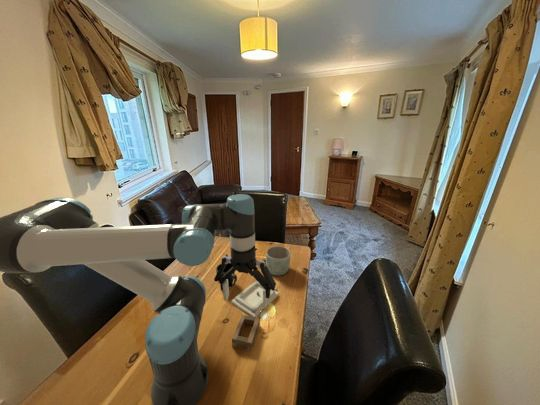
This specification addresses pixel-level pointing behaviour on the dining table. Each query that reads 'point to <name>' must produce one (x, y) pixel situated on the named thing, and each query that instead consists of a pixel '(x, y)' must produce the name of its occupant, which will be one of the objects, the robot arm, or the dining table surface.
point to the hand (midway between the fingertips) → (245, 301)
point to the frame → (237, 338)
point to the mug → (232, 277)
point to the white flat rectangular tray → (253, 299)
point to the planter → (278, 260)
